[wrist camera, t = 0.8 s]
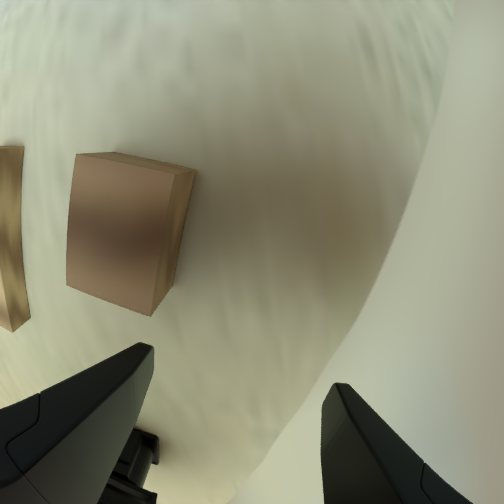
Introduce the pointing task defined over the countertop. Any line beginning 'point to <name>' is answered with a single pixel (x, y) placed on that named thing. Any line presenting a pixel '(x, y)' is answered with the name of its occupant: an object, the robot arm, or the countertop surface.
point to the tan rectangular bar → (11, 241)
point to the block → (126, 228)
